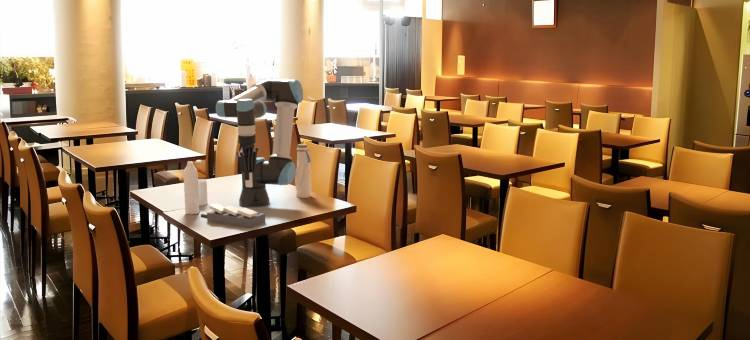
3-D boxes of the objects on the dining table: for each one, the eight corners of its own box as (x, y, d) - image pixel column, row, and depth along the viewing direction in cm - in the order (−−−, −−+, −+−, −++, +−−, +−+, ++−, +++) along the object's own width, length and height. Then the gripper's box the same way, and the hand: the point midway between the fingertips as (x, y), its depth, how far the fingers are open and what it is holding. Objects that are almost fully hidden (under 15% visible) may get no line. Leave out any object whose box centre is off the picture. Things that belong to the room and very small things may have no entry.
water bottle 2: (317, 196, 328) (316, 144, 323) (306, 199, 321) (305, 146, 316) (302, 193, 334) (301, 142, 328) (291, 196, 326) (290, 144, 321)
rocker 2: (230, 207, 278) (230, 205, 277) (242, 213, 275) (243, 210, 275) (223, 210, 273) (223, 207, 273) (235, 216, 271) (235, 213, 270)
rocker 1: (216, 205, 281) (217, 203, 281) (228, 211, 279) (228, 208, 278) (209, 208, 277) (209, 205, 276) (221, 213, 274) (221, 211, 274)
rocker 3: (244, 210, 274) (244, 207, 274) (257, 215, 272) (257, 212, 271) (237, 212, 270) (237, 209, 270) (250, 217, 267) (250, 214, 267)
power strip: (209, 213, 291) (208, 203, 290) (265, 222, 277) (264, 211, 276) (192, 219, 281) (192, 208, 280) (250, 228, 267) (249, 217, 266)
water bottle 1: (188, 215, 287) (185, 163, 283) (183, 212, 292) (180, 161, 288) (206, 212, 293) (203, 161, 288) (200, 209, 298) (198, 159, 293)
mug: (181, 206, 304) (180, 182, 302) (198, 201, 315) (197, 178, 312) (194, 208, 301) (193, 184, 298) (210, 203, 311) (209, 180, 309)
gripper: (248, 131, 275) (250, 182, 280) (230, 136, 264) (233, 189, 269) (262, 133, 272) (264, 184, 277) (244, 137, 260) (247, 191, 266)
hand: (249, 186), depth 273 cm, fingers closed
